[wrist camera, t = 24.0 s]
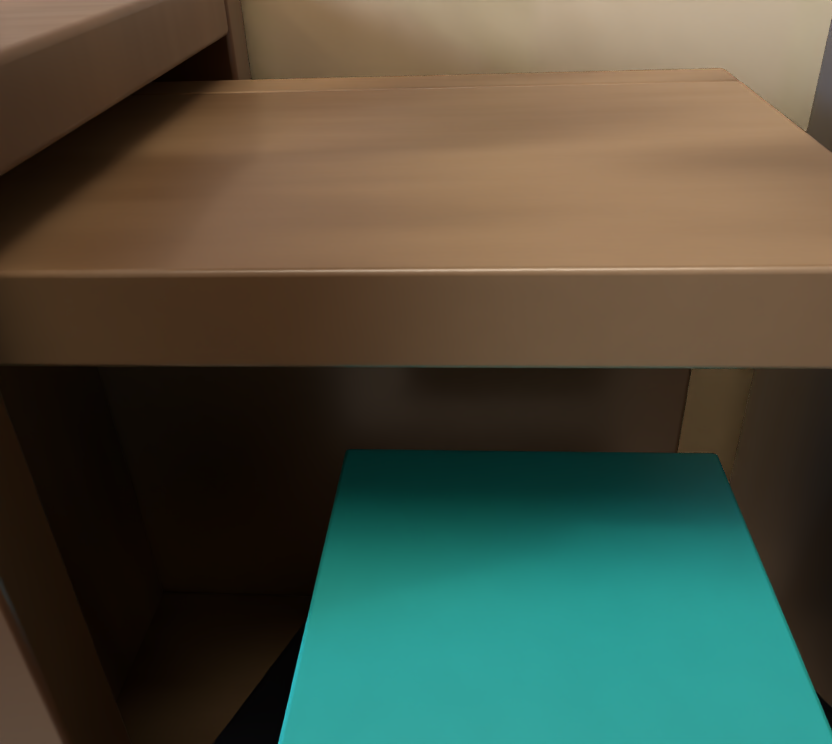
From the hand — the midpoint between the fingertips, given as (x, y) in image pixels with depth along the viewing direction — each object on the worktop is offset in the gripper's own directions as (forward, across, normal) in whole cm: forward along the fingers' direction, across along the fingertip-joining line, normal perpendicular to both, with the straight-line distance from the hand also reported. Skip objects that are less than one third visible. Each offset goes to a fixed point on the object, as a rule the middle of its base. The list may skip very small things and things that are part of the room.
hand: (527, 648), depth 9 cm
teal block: (+1, 0, 0) cm, 1 cm away
